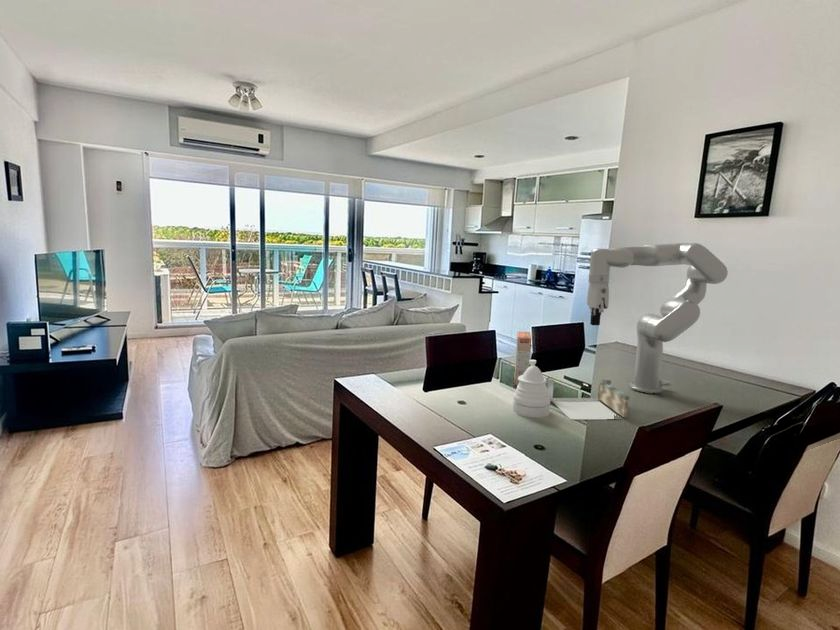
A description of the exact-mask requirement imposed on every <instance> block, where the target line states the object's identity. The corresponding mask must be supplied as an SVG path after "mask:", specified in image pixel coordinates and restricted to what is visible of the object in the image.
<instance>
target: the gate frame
mask: <svg viewBox="0 0 840 630" xmlns="http://www.w3.org/2000/svg"><path fill="white" fill-rule="evenodd" d="M546 380H547V382H546V387H547V388H548V393H549V396H550V403H553V402H601V403H603V402H602V401H601V400H600V399H598V397H553V396H554V385H555V384H554V383H555V380H554V379H553V378H552V377H551V378H546ZM603 380H604V381H606V382H607V383H609V384H610V385H612V380H611V379H610V378H603Z"/></svg>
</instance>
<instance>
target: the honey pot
mask: <svg viewBox="0 0 840 630" xmlns="http://www.w3.org/2000/svg"><path fill="white" fill-rule="evenodd" d="M529 363H530V364H529V368H528V369H527V370H526V371H525V372H524V374H523V375H521V376H519V377H518V380H519V381H520V382H519V384H518V385H516V388H515V392H514V393H513V398H512V399H513V400H512V401H513V402H512V411H513V412H514V413H516V414H518V415H520V416H523V417H529V418H543V417H547V416H549V415H550V408H551V402H550V396H549V393H548V388H547V387H546V385H547V378H545V376H544V375H543V373H542V371H541V369H540V368H539V367H538V366H536V364H537V360H536V359H530V360H529Z"/></svg>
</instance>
